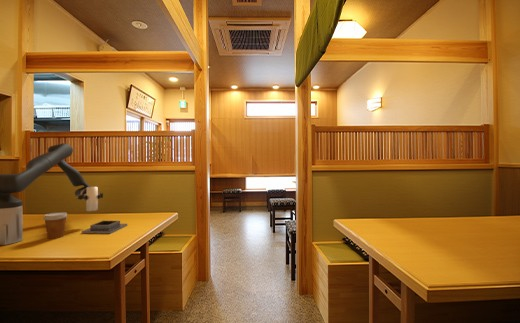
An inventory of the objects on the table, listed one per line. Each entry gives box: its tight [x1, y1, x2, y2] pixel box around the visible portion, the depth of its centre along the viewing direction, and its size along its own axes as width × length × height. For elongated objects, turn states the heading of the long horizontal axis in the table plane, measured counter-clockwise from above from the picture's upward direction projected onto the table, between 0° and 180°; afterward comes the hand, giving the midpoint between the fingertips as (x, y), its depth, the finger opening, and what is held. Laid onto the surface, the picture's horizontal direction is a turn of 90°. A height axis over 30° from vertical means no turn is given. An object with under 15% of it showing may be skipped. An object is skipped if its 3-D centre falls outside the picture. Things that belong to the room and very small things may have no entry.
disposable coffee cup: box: [43, 211, 68, 240], centre depth 124 cm, size 10×10×12 cm
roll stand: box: [81, 220, 128, 235], centre depth 138 cm, size 16×16×4 cm
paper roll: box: [86, 186, 99, 212], centre depth 145 cm, size 6×6×14 cm
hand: (93, 197), depth 143 cm, fingers closed on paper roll, 5 cm apart
